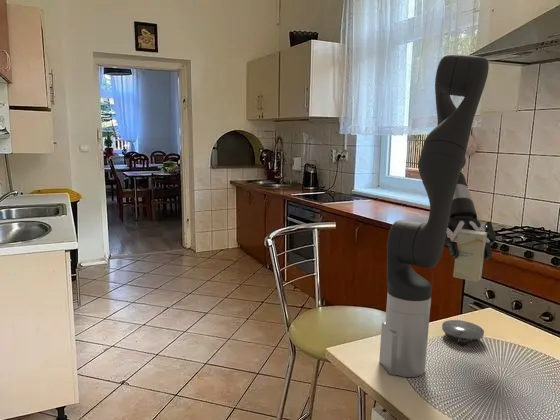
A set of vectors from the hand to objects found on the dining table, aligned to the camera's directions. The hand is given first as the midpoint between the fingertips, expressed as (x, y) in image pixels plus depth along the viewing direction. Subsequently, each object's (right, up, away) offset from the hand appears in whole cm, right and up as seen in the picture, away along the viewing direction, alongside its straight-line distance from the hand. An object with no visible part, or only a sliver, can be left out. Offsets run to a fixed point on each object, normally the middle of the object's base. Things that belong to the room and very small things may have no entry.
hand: (472, 257), depth 109 cm
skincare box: (0, -6, +2) cm, 6 cm away
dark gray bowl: (-1, -22, +5) cm, 22 cm away
